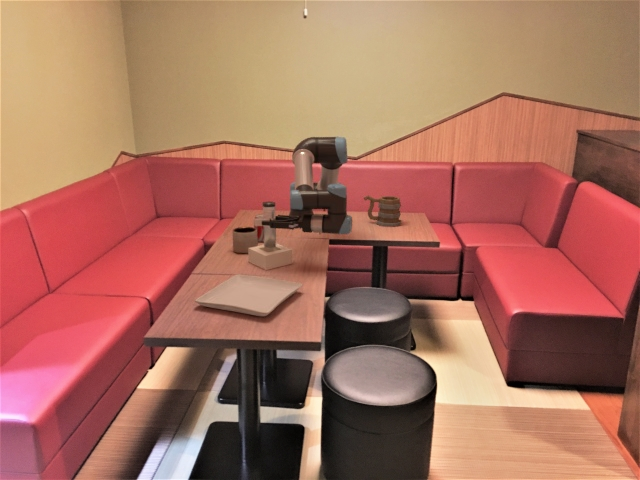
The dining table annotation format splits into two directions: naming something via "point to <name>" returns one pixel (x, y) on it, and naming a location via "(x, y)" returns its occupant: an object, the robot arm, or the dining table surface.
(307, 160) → the robot arm
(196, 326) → the dining table surface
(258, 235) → the soda can
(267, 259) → the socket block
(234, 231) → the planter
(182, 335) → the dining table surface
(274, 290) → the square plate
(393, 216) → the tankard
